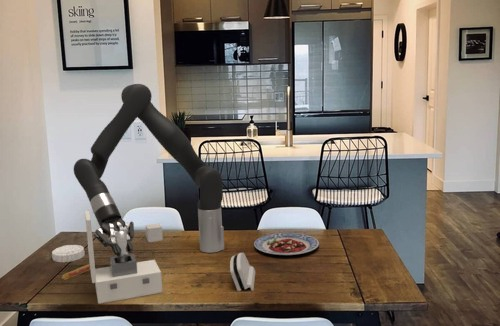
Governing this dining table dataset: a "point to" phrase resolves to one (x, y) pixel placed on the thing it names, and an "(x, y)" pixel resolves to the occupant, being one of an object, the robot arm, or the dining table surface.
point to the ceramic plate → (286, 243)
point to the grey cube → (153, 232)
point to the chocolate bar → (76, 272)
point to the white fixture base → (122, 277)
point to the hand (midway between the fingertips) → (125, 253)
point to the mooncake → (68, 253)
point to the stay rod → (122, 245)
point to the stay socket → (123, 266)
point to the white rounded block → (242, 272)
